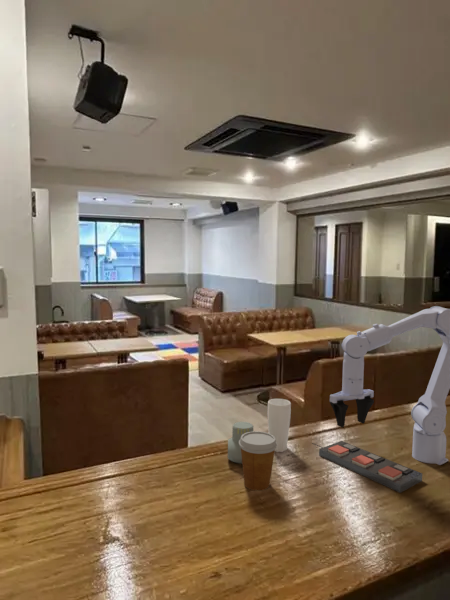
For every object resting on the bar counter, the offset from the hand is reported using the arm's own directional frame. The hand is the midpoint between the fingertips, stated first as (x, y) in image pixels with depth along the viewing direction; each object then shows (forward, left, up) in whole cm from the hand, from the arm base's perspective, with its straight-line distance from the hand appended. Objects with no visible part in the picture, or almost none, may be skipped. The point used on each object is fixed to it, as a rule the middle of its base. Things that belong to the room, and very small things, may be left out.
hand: (350, 424), depth 125 cm
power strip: (+3, +5, -10) cm, 11 cm away
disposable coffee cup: (+32, -4, -10) cm, 34 cm away
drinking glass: (+14, -15, -10) cm, 23 cm away
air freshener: (+26, -17, -10) cm, 33 cm away
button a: (+5, 0, -9) cm, 10 cm away
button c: (+5, +16, -9) cm, 19 cm away
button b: (+5, +8, -9) cm, 13 cm away
